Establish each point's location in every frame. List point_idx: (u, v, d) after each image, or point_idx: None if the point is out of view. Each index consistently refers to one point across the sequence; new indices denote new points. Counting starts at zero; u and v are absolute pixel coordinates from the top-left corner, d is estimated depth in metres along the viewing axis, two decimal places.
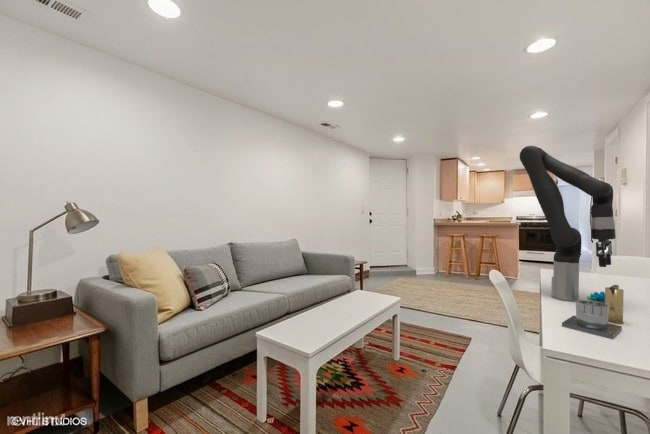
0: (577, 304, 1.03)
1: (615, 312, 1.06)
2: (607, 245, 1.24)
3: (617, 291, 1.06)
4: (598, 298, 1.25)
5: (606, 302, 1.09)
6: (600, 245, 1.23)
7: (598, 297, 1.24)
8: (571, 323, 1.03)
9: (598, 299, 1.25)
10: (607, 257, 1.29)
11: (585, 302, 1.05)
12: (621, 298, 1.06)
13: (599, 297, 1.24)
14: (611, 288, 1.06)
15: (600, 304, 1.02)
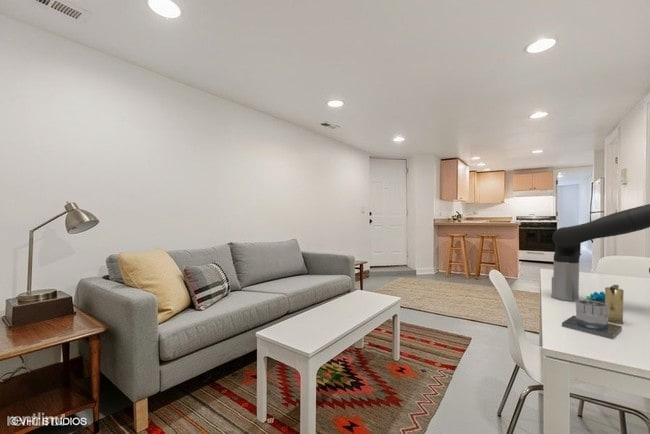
0: (577, 304, 1.03)
1: (615, 312, 1.06)
2: None
3: (617, 291, 1.06)
4: (598, 298, 1.25)
5: (606, 302, 1.09)
6: None
7: (598, 297, 1.24)
8: (571, 323, 1.03)
9: (598, 299, 1.25)
10: None
11: (585, 302, 1.05)
12: (621, 298, 1.06)
13: (599, 297, 1.24)
14: (611, 288, 1.06)
15: (600, 304, 1.02)
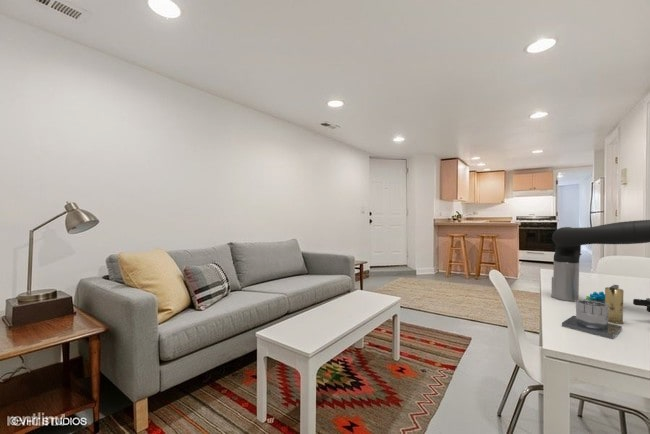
0: (577, 304, 1.03)
1: (615, 312, 1.06)
2: None
3: (617, 291, 1.06)
4: (597, 298, 1.25)
5: (606, 302, 1.09)
6: None
7: (597, 297, 1.24)
8: (571, 323, 1.03)
9: (598, 299, 1.25)
10: (646, 303, 1.08)
11: (585, 302, 1.05)
12: (621, 298, 1.06)
13: (598, 297, 1.24)
14: (611, 288, 1.06)
15: (600, 304, 1.02)
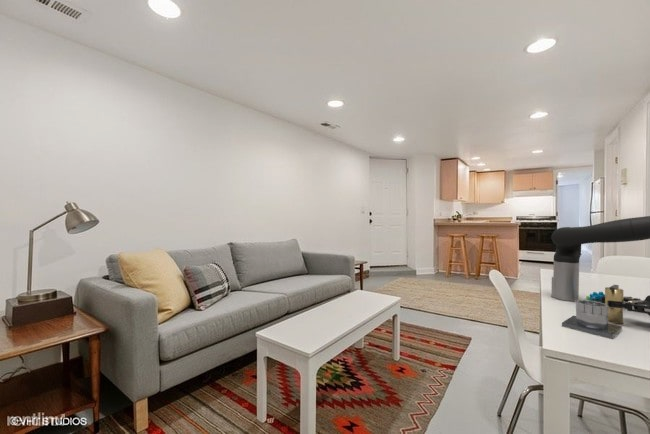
0: (577, 304, 1.03)
1: (615, 312, 1.06)
2: None
3: (617, 291, 1.06)
4: (597, 298, 1.25)
5: (606, 302, 1.09)
6: (646, 310, 1.00)
7: (597, 297, 1.24)
8: (571, 323, 1.03)
9: (597, 299, 1.25)
10: None
11: (585, 302, 1.05)
12: (621, 298, 1.06)
13: (598, 297, 1.24)
14: (611, 288, 1.06)
15: (600, 304, 1.02)
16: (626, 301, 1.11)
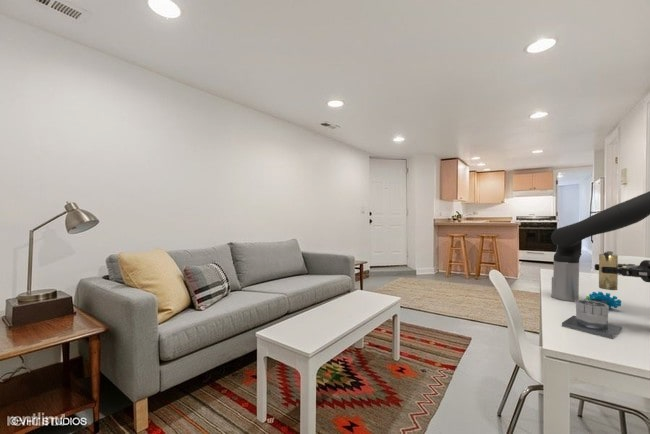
0: (577, 304, 1.03)
1: (610, 278, 1.03)
2: None
3: (611, 256, 1.03)
4: (597, 298, 1.25)
5: (600, 269, 1.06)
6: (641, 274, 0.97)
7: (597, 297, 1.24)
8: (571, 323, 1.03)
9: (597, 299, 1.25)
10: None
11: (585, 302, 1.05)
12: (615, 264, 1.03)
13: (598, 297, 1.24)
14: (605, 253, 1.03)
15: (600, 304, 1.02)
16: None
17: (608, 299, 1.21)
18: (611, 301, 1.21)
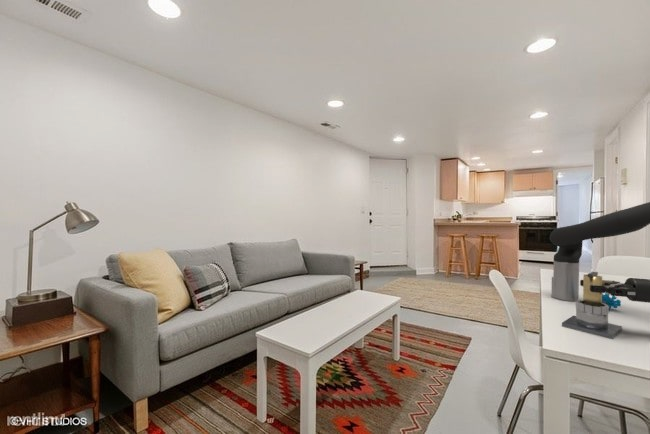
0: (577, 304, 1.03)
1: (593, 300, 1.00)
2: None
3: (595, 278, 1.00)
4: None
5: (584, 290, 1.02)
6: (630, 294, 0.93)
7: None
8: (571, 323, 1.03)
9: None
10: None
11: None
12: (600, 285, 1.00)
13: None
14: (589, 275, 1.00)
15: None
16: None
17: (607, 299, 1.21)
18: (610, 301, 1.21)
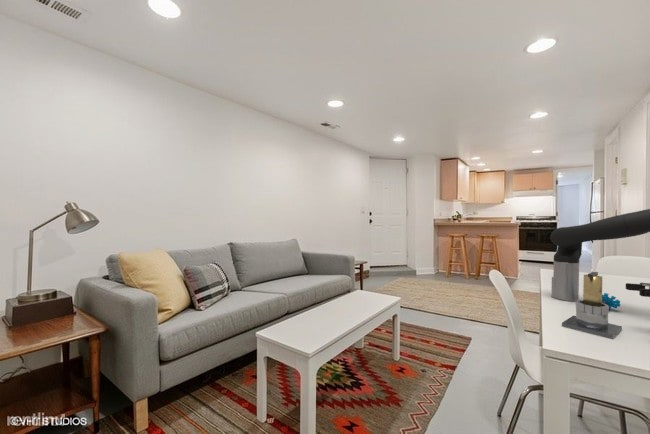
0: (577, 304, 1.03)
1: (593, 300, 1.00)
2: None
3: (595, 278, 1.00)
4: None
5: (584, 290, 1.02)
6: None
7: None
8: (571, 323, 1.03)
9: None
10: (639, 288, 1.00)
11: None
12: (600, 285, 1.00)
13: None
14: (589, 275, 1.00)
15: None
16: None
17: (607, 299, 1.21)
18: (610, 301, 1.21)
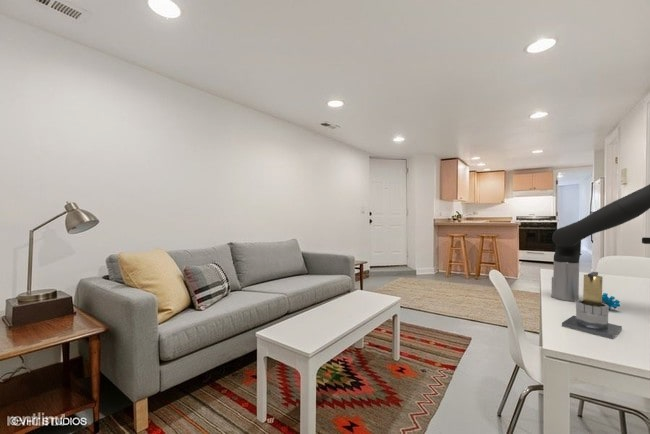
0: (577, 304, 1.03)
1: (593, 300, 1.00)
2: None
3: (595, 278, 1.00)
4: None
5: (584, 290, 1.02)
6: None
7: None
8: (571, 323, 1.03)
9: None
10: None
11: None
12: (600, 285, 1.00)
13: None
14: (589, 275, 1.00)
15: None
16: None
17: (606, 299, 1.21)
18: (609, 301, 1.21)
